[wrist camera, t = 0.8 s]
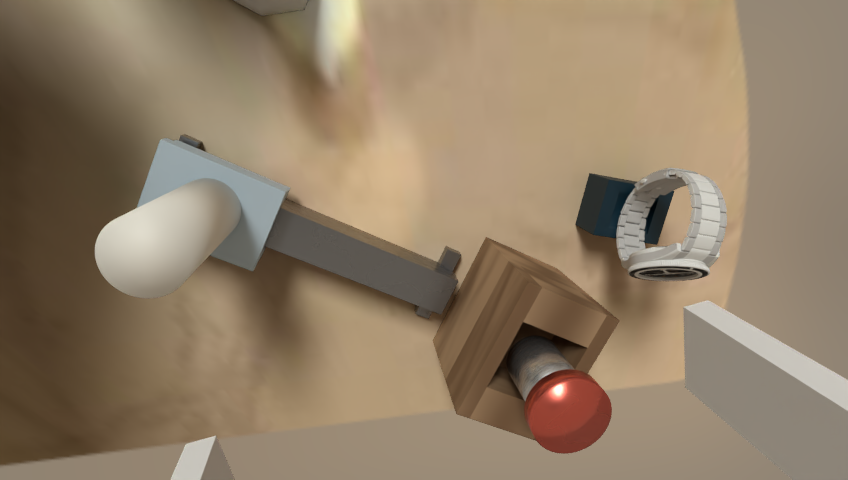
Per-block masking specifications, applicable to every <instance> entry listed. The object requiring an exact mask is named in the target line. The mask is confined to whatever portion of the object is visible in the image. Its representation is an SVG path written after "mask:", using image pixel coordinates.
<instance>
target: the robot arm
mask: <svg viewBox="0 0 848 480" xmlns="http://www.w3.org/2000/svg"><path fill="white" fill-rule="evenodd" d="M684 351H685V387H686V388H687V389H688V390H689V391H690V392H691V393H693V394H694V395H695V396H696V397H697V398H698V399H699V400H700V401H702V402H703V403H704V404H705V405H706V406H707V407H709V408H710V409H711V410H712V411H713V412H714V413H716V414H717V415H718V416H719V417H720V418H721V419H723V420H724V421H725V422H726V423H727V424H728V425H730V426H731V427H732V428H733V429H734V430H735V431H737V432H738V433H739V434H740V435H741V436H742V437H743V438H745V439H746V440H747V441H748V442H749V443H750V444H752V445H753V446H754V447H755V448H756V449H758V450H759V451H760V452H761V453H762V454H763V455H764V456H765V457H767V458H768V459H769V460H770V461H771V462H772V463H774V464H775V465H776V466H777V467H778V468H779V469H781V470H782V471H783V472H784V473H785V474H786V475H787V476H789V477H790V478H791V479H792V480H848V380H847V379H845V378H843V377H841V376H840V375H838V374H836V373H834V372H833V371H831V370H829V369H827V368H826V367H824V366H822V365H820V364H819V363H817V362H815V361H813V360H812V359H810V358H808V357H806V356H805V355H803V354H801V353H799V352H798V351H796V350H794V349H792V348H791V347H789V346H787V345H785V344H784V343H782V342H780V341H778V340H777V339H775V338H773V337H771V336H770V335H768V334H766V333H764V332H763V331H761V330H759V329H757V328H756V327H754V326H752V325H750V324H749V323H747V322H745V321H743V320H741V319H740V318H738V317H736V316H735V315H733V314H731V313H729V312H728V311H726V310H724V309H722V308H721V307H719V306H717V305H715V304H714V303H712V302H710V301H708V300H707V301H704V302H700V303H697V304H693V305H689V306H686V307H684ZM171 480H235V479H234V476H233V474H232V472H231V469H230V467H229V465H228V462H227V460H226V457H225V455H224V453H223V450H222V448H221V446H220V444H219V441H218V439H217V436H213V437H209V438H206V439H202V440H198V441H195V442H191V443H187V444H186V445H185V447H184V450H183V452H182V454H181V456H180V459H179V461H178V464H177V466H176V468H175V470H174V472H173V475H172V477H171Z"/></svg>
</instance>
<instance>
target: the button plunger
mask: <svg viewBox="0 0 848 480" xmlns="http://www.w3.org/2000/svg"><path fill="white" fill-rule="evenodd" d="M506 367H507V370H508V372H509V374H510V376H511V378H512V379H513V381H514V383H515V385H516V387H517V388H518V390H519V392H520V394H521V395H522V397H523V399H524V401H525V405H524V416H525V420H526V422H527V424H528V426H529V428H530V430H531V432H532V434H533V435H534V437H535V439H536V440H537V442H538V443H539V444H540V445H541V446H542V447H544V448H545V449H547V450H549V451H552V452H555V453H573V452H577V451H580V450H582V449H585V448H587V447H588V446H590V445H592V444H593V443H594V442H596V441H597V440H598V439H599V438H600V437H601V436H602V435H603V433H604V432H605V430H606V429H607V427H608V425H609V422H610V419H611V412H612V408H611V402H610V399H609V397H608V396H607V394H606V393H605V391H604V390H603V389H602V388H601V387H600V386H599V384H598V383H597V382H596V381H595V380H594V379H593V378H592V377H591V376H590V375H588V374H587V373H585V372H583V371H579V370H575V369H574V368H573V367H572V365H571V364H570V363H569V362H568V361H567V359H566V358H565V357H564V356H563V354H562V353H561V352H560V351H559V349H558V348H557V347H556V346H555V345H554V343H553V342H552V341H551V340H549V339H548V338H546V337H543V336H539V335H533V336H528V337H525V338H522V339H521V340H519V341H518V342H516V343H515V344H514V345H513V346H512V348H511V349H510V351H509V353H508V355H507V359H506Z"/></svg>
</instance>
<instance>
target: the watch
mask: <svg viewBox="0 0 848 480" xmlns="http://www.w3.org/2000/svg"><path fill="white" fill-rule="evenodd" d="M686 185H688V189H689V192H690V195H692V196H691V207H692V208H693V209H692V211H691V219H690V221H691V222H694V223H690V225H689V228H688V231H687V236H688V237H686V238H685V239H684V242H683V244H682V245H681V244H679V243H675V244H671V245H669V246H661V247H651V248H645V243H650V244H656V245H657V243H658V240H659V237H660V234H661V231H662V228H663V224H664V221H665V218H666V215H667V212H668V209H669V206H670V203H671V200H672V197H673V194H674V191H673V190H675V189H677V188H680V187H683V186H686ZM726 212H727V211H726V204H725V201H724V199H723V195H722V193H721V191H720V189H719V188H718V186H717V185H716V183H715V182H714V181H713V180H711V179H710V178H708V177H706V176H703V175H699V174H698V173H696V172H693V171H689V170H684V169H677V168H666V169H662V170H659V171H656V172H654V173H651V174H650V175H648V176H646V177H644V178H643V179H641V180H640V181H638V182H635V181H629V180H624V179H618V178H613V177H607V176H602V175H596V174H591V173H590V174H589V177H588V181H587V184H586V188H585V192H584V195H583V199H582V203H581V206H580V210H579V214H578V217H577V221H576V224H575V225H577V226H579V227H581V228H582V229H584V230H586V231H588V232H589V233H591V234H593V235H599V236H605V237H611V238H617V239H616V242H617V249H618V254H619V257H620V259H621V266H622V267H623V268H625V269H627V270H628V275H630V276H632V277H635V278H638V279H644V280H653V281H684V280H693V279H698V278H702V277H705V276H707V275H709V274H710V269H709V267H710V266H711V265H713V264H714V262H715V261H716V260H717V259H718V257H719V256H720V254H719V249H720V247H721V242H722V241H723V238H724V235H725V227H726V223H727V214H726ZM701 219H703V220H701ZM707 220H709V221H707ZM713 221H715V222H713ZM722 227H723V228H722ZM700 234H701V235H700ZM706 235H707V236H706ZM712 236H713V237H712ZM692 237H693V238H692ZM716 241H717V242H716Z"/></svg>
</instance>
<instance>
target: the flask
mask: <svg viewBox="0 0 848 480" xmlns="http://www.w3.org/2000/svg"><path fill="white" fill-rule="evenodd" d="M233 1H235V2H237V3H239V4H241V5H243V6H244V7H246V8H248V9H250V10H252V11H254V12H255V13H257V14H259V15H261V16H264V15H271V14H277V13H284V12H290V11H297V10H303V9H305V7H306V4H307V2H308V0H233Z"/></svg>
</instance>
